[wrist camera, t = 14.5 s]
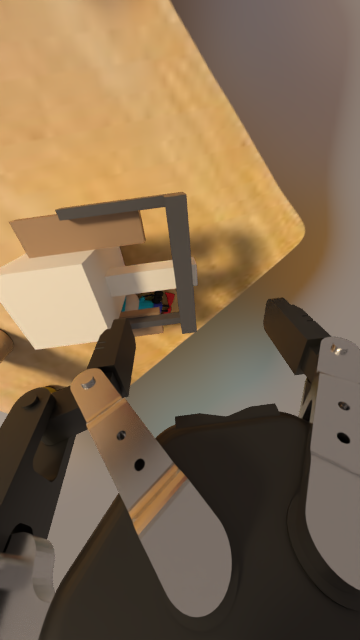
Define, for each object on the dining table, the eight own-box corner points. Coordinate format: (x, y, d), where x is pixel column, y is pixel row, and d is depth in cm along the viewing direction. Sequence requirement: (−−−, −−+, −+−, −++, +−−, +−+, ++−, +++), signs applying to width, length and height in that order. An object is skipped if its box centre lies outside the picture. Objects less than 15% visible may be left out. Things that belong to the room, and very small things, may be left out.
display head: (87, 306, 42) (50, 370, 28) (43, 210, 31) (-50, 235, 18) (191, 292, 42) (206, 349, 28) (182, 191, 31) (199, 201, 17)
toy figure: (174, 286, 43) (98, 276, 38) (178, 300, 39) (96, 291, 34) (165, 313, 47) (97, 308, 42) (169, 328, 44) (95, 324, 39)
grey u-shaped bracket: (108, 326, 31) (102, 344, 27) (61, 208, 21) (43, 213, 18) (193, 315, 31) (196, 331, 27) (182, 191, 21) (186, 194, 18)
